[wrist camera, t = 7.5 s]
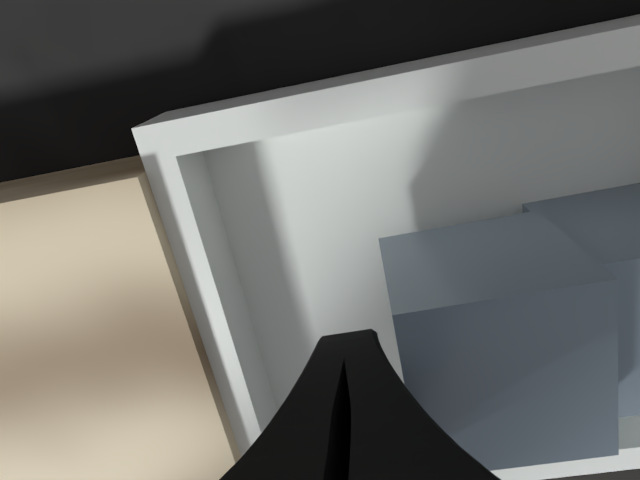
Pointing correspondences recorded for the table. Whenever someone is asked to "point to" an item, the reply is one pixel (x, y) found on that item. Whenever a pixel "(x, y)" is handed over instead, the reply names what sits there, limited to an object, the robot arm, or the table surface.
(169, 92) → the table surface
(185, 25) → the table surface
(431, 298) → the blue-grey cube
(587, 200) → the block
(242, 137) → the box
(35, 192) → the beige piece
